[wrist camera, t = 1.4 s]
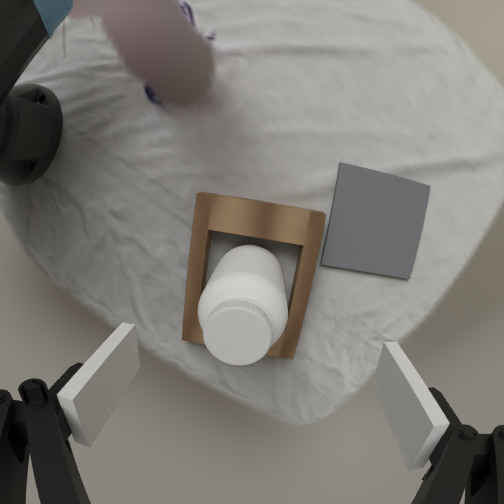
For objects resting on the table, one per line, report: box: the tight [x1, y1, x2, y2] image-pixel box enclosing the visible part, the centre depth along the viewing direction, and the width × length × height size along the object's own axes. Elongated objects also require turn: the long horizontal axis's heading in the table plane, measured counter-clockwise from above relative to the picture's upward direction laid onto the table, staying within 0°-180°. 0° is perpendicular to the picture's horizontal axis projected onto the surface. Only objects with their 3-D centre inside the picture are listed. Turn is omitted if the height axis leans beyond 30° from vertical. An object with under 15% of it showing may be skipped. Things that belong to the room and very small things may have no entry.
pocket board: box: [182, 192, 326, 359], centre depth 36 cm, size 14×18×2 cm
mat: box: [321, 163, 430, 279], centre depth 35 cm, size 12×12×1 cm
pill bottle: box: [198, 245, 288, 366], centre depth 30 cm, size 8×8×15 cm
